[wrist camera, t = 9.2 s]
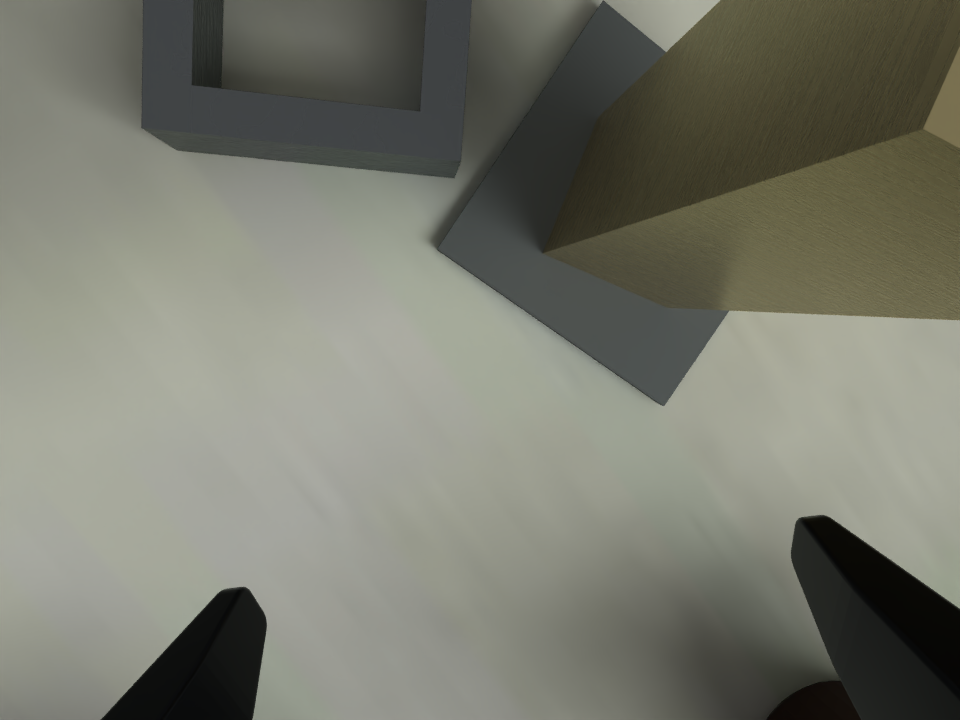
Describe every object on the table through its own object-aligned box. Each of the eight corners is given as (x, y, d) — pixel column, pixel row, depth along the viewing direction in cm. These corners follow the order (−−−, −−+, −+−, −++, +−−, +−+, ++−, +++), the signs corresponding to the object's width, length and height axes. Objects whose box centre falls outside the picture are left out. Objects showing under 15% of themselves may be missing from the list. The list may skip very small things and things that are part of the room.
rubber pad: (659, 404, 22) (663, 406, 21) (437, 249, 20) (437, 248, 20) (811, 180, 21) (819, 178, 21) (599, 6, 20) (602, 0, 19)
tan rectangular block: (667, 307, 21) (1311, 335, 6) (542, 253, 20) (922, 128, 5) (722, 177, 20) (1543, -137, 6) (598, 117, 20) (1169, -427, 5)
